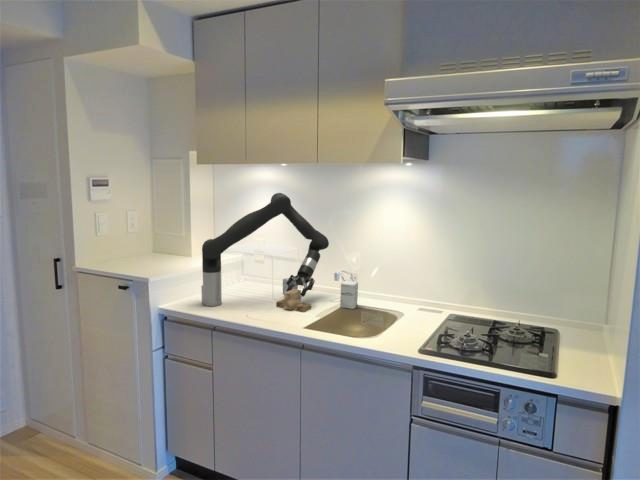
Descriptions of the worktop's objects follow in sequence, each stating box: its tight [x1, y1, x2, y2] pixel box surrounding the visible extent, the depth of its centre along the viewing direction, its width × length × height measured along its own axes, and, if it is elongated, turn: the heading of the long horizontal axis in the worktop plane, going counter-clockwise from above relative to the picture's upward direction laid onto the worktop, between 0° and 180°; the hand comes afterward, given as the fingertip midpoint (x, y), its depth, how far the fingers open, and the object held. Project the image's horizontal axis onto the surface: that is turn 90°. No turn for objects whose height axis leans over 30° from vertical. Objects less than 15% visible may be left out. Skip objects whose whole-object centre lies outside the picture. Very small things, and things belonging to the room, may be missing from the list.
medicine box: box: [282, 277, 299, 295], centre depth 258 cm, size 8×4×9 cm, turn 48°
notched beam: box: [275, 298, 312, 313], centre depth 233 cm, size 17×6×2 cm, turn 58°
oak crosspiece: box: [283, 289, 302, 310], centre depth 232 cm, size 4×9×8 cm, turn 149°
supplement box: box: [339, 280, 359, 310], centre depth 237 cm, size 7×7×13 cm
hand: (294, 294), depth 234 cm, fingers open, 8 cm apart
